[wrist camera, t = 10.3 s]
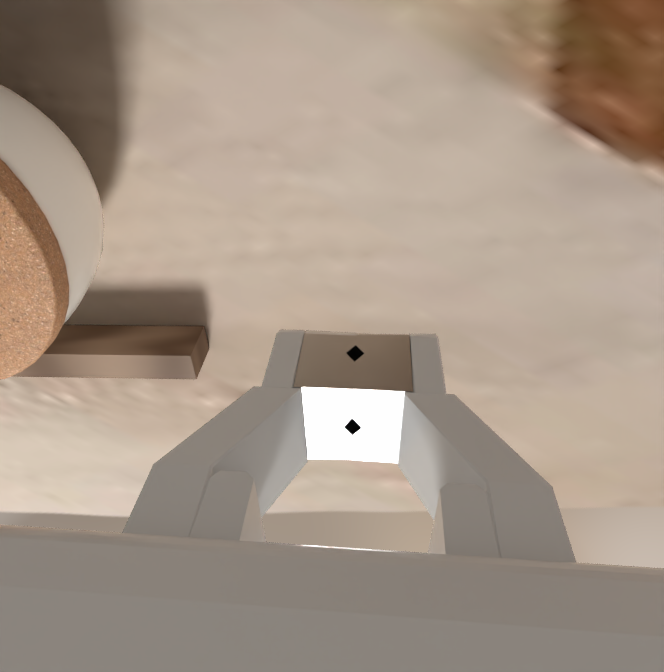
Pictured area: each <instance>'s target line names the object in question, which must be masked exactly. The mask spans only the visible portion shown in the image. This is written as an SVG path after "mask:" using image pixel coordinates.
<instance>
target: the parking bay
mask: <svg viewBox="0 0 664 672" xmlns="http://www.w3.org/2000/svg"><path fill="white" fill-rule="evenodd" d="M208 350H209V346H208V342H207V337H206V333H205V328H204V326H122V325H63V326H62V328H61V330H60V332H59V334H58V335H57V337H56V339H55V340H54V341H53V343H52V344H51V345H50V346H49V347H48V349H47V350H46V351H45V352H44V353H43V354H42V355H41V356H40V358H39V359H38V360H37V361H36V362H35V363H33V364H32V365H31V366H29V367H28V368H26V369H25V370H23V371H22V372H20V373H17V374H15V375H13V376H17V377H81V378H145V379H197V377H198V374H199V372H200V369H201V367H202V365H203V362H204V360H205V357H206V355H207V353H208Z"/></svg>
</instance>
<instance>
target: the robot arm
mask: <svg viewBox="0 0 664 672" xmlns="http://www.w3.org/2000/svg"><path fill="white" fill-rule="evenodd" d="M307 459H335V460H359V461H372V462H385V463H398V466H399V468H400V469H401V471H402V472H403V474H404V475H405V477H406V479H407V480H408V482H409V483H410V485H411V486H412V488H413V489H414V491H415V492H416V494H417V495H418V497H419V498H420V500H421V501H422V503H423V504H424V506H425V507H426V509H427V510H428V512H429V514H430V515H431V517H432V518H433V520H434V524H433V529H432V534H431V540H430V545H429V550H428V553H419V552H404V551H388V550H373V549H359V548H343V547H329V546H313V545H300V544H285V543H270V542H269V543H268V542H266V537H265V533H264V528H263V522H262V516H263V515H264V514H265V513H266V511H267V510H268V509H269V508H270V507H271V505H272V504H273V503H274V502H275V500H276V499H277V498H278V497H279V496H280V494H281V493H282V492H283V491H284V490H285V488H286V487H287V486H288V485H289V483H290V482H291V481H292V480H293V479H294V477H295V476H296V475H297V474H298V473H299V471H300V470H301V469H302V468H303V466H304V465H305V464H306V463H307V462H308V460H307ZM0 672H664V568H649V567H634V566H633V567H632V566H618V565H604V564H589V563H576V560H575V557H574V554H573V551H572V547H571V544H570V541H569V538H568V535H567V532H566V529H565V526H564V523H563V519H562V516H561V513H560V510H559V506H558V503H557V500H556V497H555V494H554V491H553V487H552V486H551V485H550V484H549V483H548V482H547V481H546V480H545V479H544V478H542V477H541V476H540V475H539V474H538V473H537V472H536V471H535V470H534V469H533V468H532V467H531V466H530V465H529V464H528V463H527V462H526V461H524V460H523V459H522V458H521V457H520V456H519V455H518V454H517V453H516V452H515V451H514V450H513V449H512V448H511V447H510V446H509V445H508V444H506V443H505V442H504V441H503V440H502V439H501V438H500V437H499V436H498V435H497V434H496V433H495V432H494V431H493V430H492V429H491V428H490V427H489V426H487V425H486V424H485V423H484V422H483V421H482V420H481V419H480V418H479V417H478V416H477V415H476V414H475V413H474V412H473V411H472V410H471V409H469V408H468V407H467V406H466V405H465V404H464V403H463V402H462V401H461V400H460V399H459V398H458V397H457V396H456V395H454V394H446V388H445V381H444V374H443V367H442V361H441V354H440V347H439V340H438V336H437V335H436V334H409V335H407V334H368V333H350V332H331V331H312V330H306V331H304V330H284V329H280V330H279V332H278V333H277V334H276V338H275V341H274V345H273V348H272V352H271V355H270V359H269V362H268V366H267V369H266V373H265V376H264V380H263V383H262V387H255V386H254V387H253V388H251V389H250V390H249V391H247V392H246V393H245V394H244V395H242V396H241V397H240V398H238V399H237V400H236V401H234V402H233V403H232V404H231V405H229V406H228V407H227V408H225V409H224V410H223V411H222V412H220V413H219V414H218V415H216V416H215V417H214V418H213V419H211V420H210V421H209V422H207V423H206V424H205V425H204V426H202V427H201V428H200V429H198V430H197V431H196V432H194V433H193V434H192V435H191V436H189V437H188V438H187V439H185V440H184V441H183V442H182V443H180V444H179V445H178V446H176V447H175V448H174V449H173V450H171V451H170V452H169V453H167V454H166V455H165V456H163V457H162V458H161V459H160V460H158V461H157V462H156V463H154V464H153V466H152V469H151V471H150V473H149V475H148V477H147V480H146V482H145V484H144V486H143V488H142V491H141V493H140V495H139V497H138V499H137V501H136V504H135V506H134V508H133V510H132V512H131V515H130V517H129V519H128V521H127V523H126V526H125V528H124V530H123V532H122V533H120V532H105V531H90V530H74V529H60V528H45V527H28V526H15V525H0Z"/></svg>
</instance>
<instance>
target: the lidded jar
mask: <svg viewBox="0 0 664 672" xmlns="http://www.w3.org/2000/svg"><path fill="white" fill-rule="evenodd" d="M103 237H104V218H103V209H102V205H101V201H100V197H99V194H98V190H97V187H96V185H95V182H94V180H93V178H92V175H91V173H90V171H89V169H88V167H87V165H86V163H85V162H84V160H83V158H82V157H81V155H80V153H79V152H78V150H77V149H76V148H75V147H74V145H73V144H72V143H71V141H70V140H69V139H68V137H67V136H66V135H65V134H64V133H63V132H62V131H61V130H60V129H59V128H58V127H57V125H56V124H55V123H54V122H53V121H52V120H50V119H49V118H48V117H47V116H46V115H45V114H43V113H42V112H41V111H40V110H39V109H37V108H36V107H35V106H34V105H32V104H31V103H30V102H28V101H27V100H25V99H24V98H22V97H21V96H19V95H18V94H16V93H15V92H13V91H12V90H10V89H8V88H6V87H4V86H2V85H1V84H0V380H1V379H5V378H8V377H10V376H13V375H15V374H17V373H20V372H22V371H23V370H25V369H26V368H28V367H29V366H31V365H32V364H33V363H35V362H36V361H37V360H38V359H39V358H40V356H41V355H42V354H43V353H44V352H45V351H46V350H47V349H48V347H49V346H50V345H51V344H52V343H53V341H54V340H55V339H56V337H57V335H58V334H59V332H60V330H61V328H62V326H63V324H64V323H65V322H66V321H67V320H68V319H69V317H70V316H71V315H72V314H73V312H74V311H75V310H76V308H77V307H78V306H79V304H80V302H81V301H82V299H83V297H84V295H85V294H86V292H87V290H88V288H89V286H90V284H91V282H92V280H93V279H94V276H95V273H96V271H97V268H98V265H99V262H100V258H101V254H102V251H103Z"/></svg>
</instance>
